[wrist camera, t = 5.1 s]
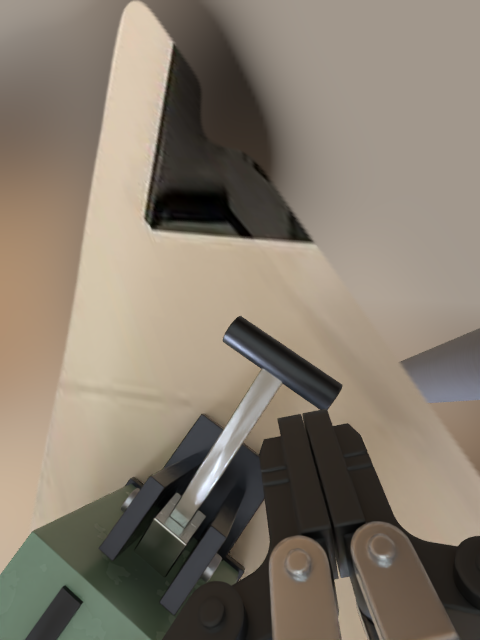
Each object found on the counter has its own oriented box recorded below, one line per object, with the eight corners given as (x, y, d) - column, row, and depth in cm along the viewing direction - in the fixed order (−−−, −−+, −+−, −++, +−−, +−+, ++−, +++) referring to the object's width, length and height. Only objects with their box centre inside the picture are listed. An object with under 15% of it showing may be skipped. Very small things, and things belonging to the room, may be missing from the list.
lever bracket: (204, 413, 36) (160, 413, 22) (281, 471, 34) (283, 508, 21) (133, 513, 35) (41, 577, 21) (209, 578, 33) (163, 692, 20)
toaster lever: (247, 311, 20) (229, 320, 18) (345, 377, 19) (339, 396, 17) (135, 505, 25) (109, 531, 23) (208, 566, 24) (189, 600, 22)
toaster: (133, 476, 35) (29, 522, 20) (245, 568, 33) (218, 695, 18) (69, 566, 34) (-91, 683, 19) (180, 667, 32) (95, 888, 17)
